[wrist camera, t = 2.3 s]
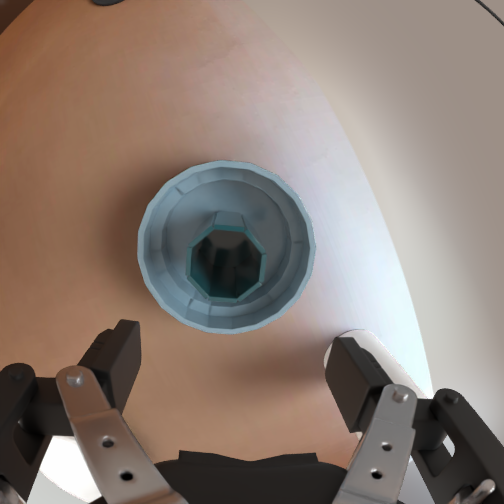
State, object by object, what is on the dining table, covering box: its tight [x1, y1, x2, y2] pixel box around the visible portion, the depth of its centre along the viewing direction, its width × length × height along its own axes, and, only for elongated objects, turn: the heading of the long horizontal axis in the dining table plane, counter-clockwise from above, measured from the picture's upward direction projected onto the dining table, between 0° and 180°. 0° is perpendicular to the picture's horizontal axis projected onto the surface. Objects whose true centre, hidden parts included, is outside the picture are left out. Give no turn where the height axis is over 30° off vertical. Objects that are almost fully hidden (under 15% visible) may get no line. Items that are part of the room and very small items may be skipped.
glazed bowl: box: [137, 160, 316, 334], centre depth 30 cm, size 16×16×6 cm
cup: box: [324, 329, 428, 440], centre depth 30 cm, size 8×8×16 cm
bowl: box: [39, 436, 101, 503], centre depth 36 cm, size 22×22×8 cm
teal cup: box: [185, 211, 267, 303], centre depth 28 cm, size 6×6×9 cm
